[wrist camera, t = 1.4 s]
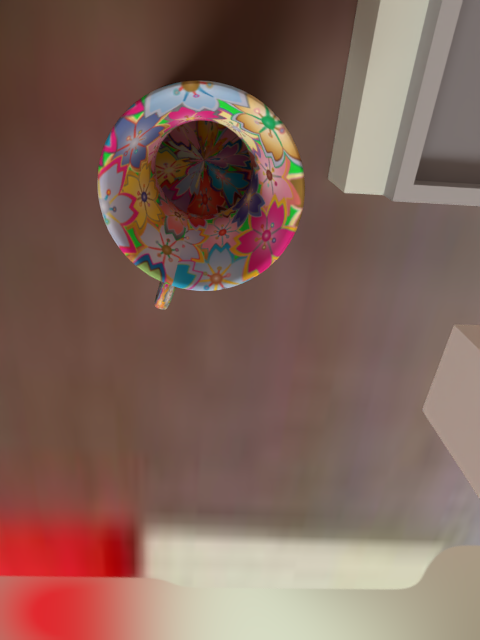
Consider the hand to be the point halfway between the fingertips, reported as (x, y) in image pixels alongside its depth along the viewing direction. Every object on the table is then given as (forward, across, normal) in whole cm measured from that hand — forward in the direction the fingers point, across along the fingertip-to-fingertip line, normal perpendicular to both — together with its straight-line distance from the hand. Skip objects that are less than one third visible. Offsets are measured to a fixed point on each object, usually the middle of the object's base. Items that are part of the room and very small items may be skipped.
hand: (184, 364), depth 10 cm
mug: (+22, 0, 0) cm, 22 cm away
